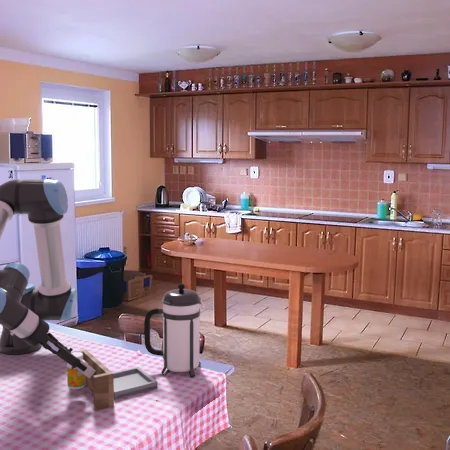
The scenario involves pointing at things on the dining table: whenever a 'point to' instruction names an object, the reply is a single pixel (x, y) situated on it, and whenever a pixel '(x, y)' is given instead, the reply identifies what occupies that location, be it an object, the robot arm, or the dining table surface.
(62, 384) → the dining table surface
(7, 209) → the robot arm
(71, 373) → the supplement bottle
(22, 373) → the dining table surface
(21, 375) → the dining table surface
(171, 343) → the coffee press
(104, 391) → the alcove
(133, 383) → the tray
